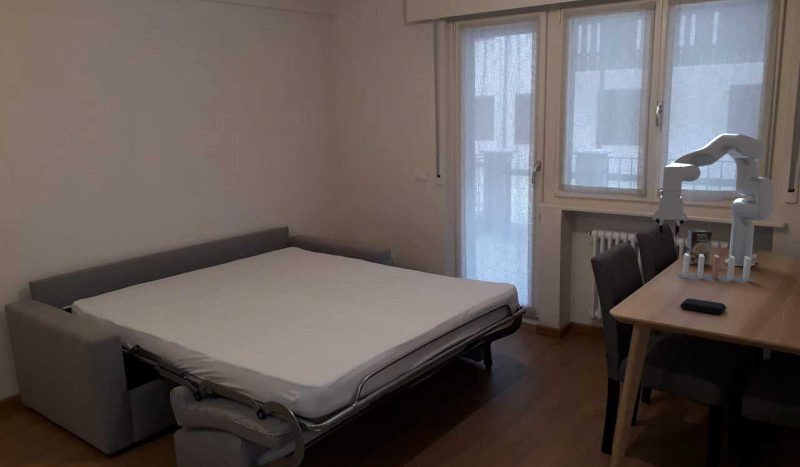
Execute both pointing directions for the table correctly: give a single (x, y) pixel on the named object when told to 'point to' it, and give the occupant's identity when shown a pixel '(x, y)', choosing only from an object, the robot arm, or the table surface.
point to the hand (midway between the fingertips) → (668, 233)
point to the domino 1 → (685, 265)
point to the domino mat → (720, 278)
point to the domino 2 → (700, 266)
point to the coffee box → (698, 245)
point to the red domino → (715, 267)
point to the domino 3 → (731, 268)
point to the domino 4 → (746, 268)
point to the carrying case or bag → (703, 306)
